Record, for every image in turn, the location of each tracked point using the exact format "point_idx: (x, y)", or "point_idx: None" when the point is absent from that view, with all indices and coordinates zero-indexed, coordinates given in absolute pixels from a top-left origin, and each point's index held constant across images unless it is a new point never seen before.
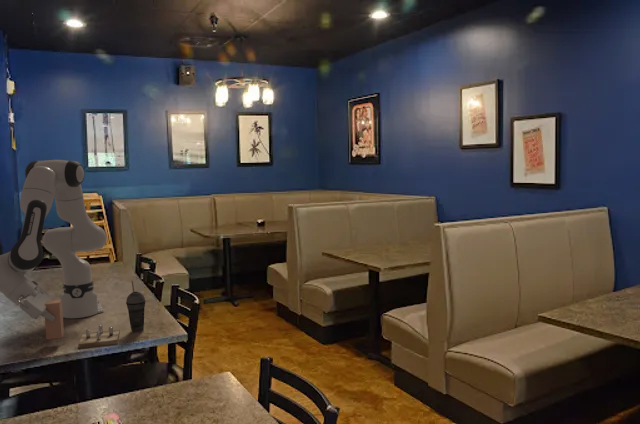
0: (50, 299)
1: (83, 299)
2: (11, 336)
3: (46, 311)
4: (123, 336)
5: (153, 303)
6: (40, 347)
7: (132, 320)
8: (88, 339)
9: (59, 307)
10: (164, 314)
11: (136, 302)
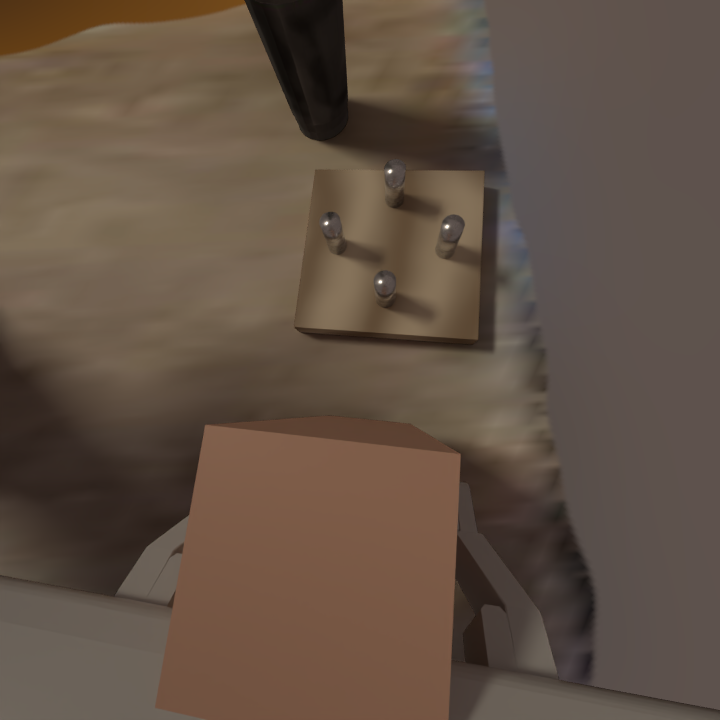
0: (12, 618)
1: None
2: None
3: (535, 630)
4: (377, 168)
5: None
6: None
7: (335, 68)
8: (415, 297)
9: (442, 444)
10: (142, 33)
11: None
